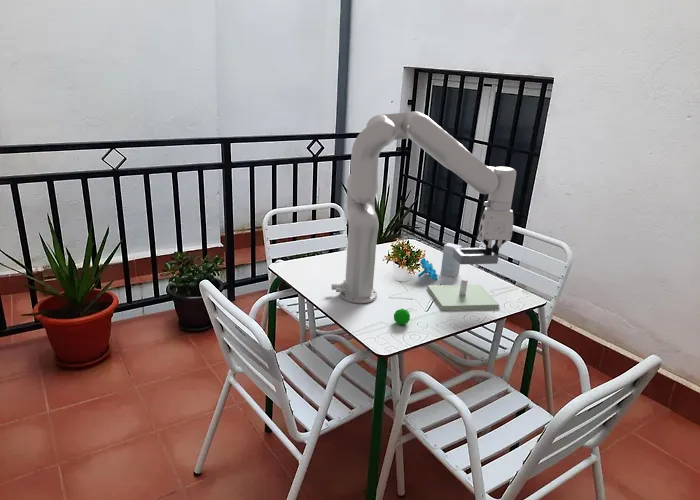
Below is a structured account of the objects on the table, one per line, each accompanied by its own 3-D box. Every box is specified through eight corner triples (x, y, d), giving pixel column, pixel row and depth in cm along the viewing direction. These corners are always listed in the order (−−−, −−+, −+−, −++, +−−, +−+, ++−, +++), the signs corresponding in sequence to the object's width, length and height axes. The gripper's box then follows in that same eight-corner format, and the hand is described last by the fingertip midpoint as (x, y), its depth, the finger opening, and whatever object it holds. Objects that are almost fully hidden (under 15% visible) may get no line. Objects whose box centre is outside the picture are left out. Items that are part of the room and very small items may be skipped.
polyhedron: (408, 320, 155) (409, 306, 153) (410, 327, 150) (411, 314, 149) (392, 319, 155) (393, 305, 153) (394, 327, 150) (395, 313, 148)
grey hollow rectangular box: (460, 264, 162) (461, 255, 161) (452, 256, 169) (453, 248, 168) (497, 263, 164) (498, 255, 163) (488, 255, 171) (489, 247, 170)
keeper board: (442, 310, 162) (444, 290, 160) (427, 289, 177) (429, 271, 175) (498, 308, 166) (501, 289, 163) (479, 288, 181) (482, 270, 178)
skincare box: (458, 274, 192) (462, 245, 187) (454, 278, 188) (458, 248, 184) (444, 270, 195) (447, 242, 190) (440, 274, 191) (443, 245, 187)
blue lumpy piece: (436, 281, 180) (420, 259, 181) (423, 289, 183) (407, 268, 183) (441, 274, 190) (426, 253, 191) (429, 282, 193) (414, 262, 193)
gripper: (481, 208, 156) (473, 262, 163) (526, 208, 159) (517, 261, 165) (472, 202, 163) (465, 253, 170) (516, 202, 165) (507, 253, 172)
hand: (490, 257), depth 167 cm, fingers closed on grey hollow rectangular box, 1 cm apart
